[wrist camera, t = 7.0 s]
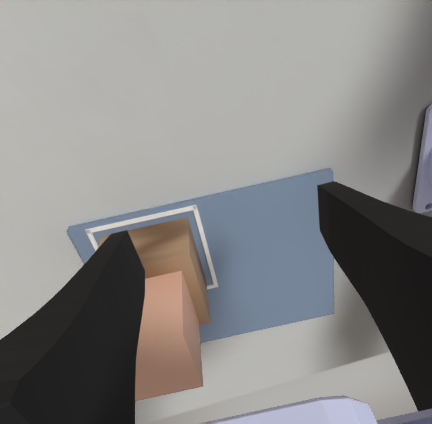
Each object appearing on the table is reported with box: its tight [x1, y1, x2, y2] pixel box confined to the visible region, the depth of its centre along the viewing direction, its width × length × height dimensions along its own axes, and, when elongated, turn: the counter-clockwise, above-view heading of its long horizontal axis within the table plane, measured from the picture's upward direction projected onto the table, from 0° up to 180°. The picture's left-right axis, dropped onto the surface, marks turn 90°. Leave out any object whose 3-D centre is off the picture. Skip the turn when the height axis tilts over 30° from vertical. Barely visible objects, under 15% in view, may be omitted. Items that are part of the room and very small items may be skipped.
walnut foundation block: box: [97, 217, 211, 325], centre depth 22 cm, size 6×6×4 cm
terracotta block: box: [135, 271, 203, 401], centre depth 19 cm, size 4×4×4 cm
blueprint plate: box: [67, 168, 334, 343], centre depth 26 cm, size 18×14×1 cm
